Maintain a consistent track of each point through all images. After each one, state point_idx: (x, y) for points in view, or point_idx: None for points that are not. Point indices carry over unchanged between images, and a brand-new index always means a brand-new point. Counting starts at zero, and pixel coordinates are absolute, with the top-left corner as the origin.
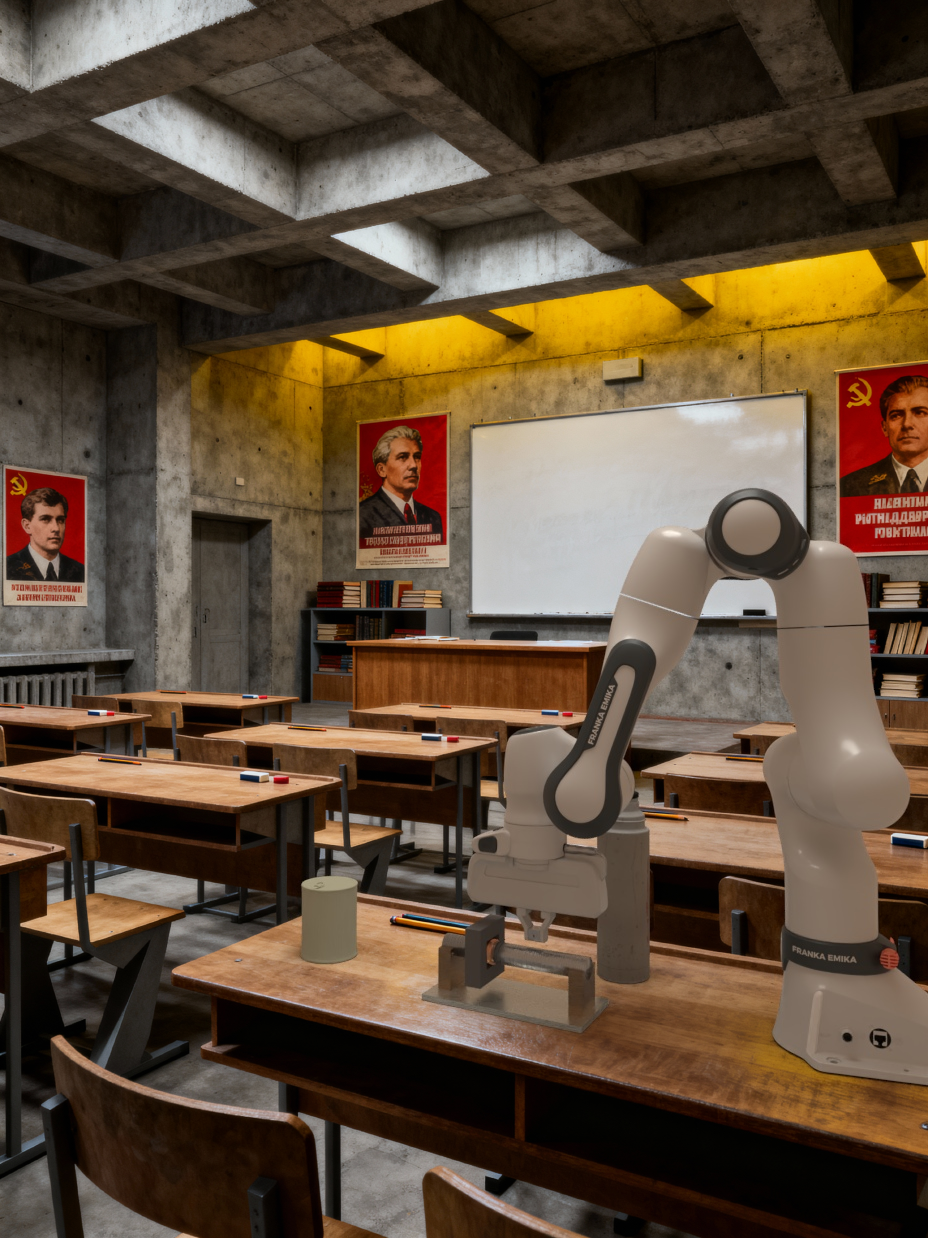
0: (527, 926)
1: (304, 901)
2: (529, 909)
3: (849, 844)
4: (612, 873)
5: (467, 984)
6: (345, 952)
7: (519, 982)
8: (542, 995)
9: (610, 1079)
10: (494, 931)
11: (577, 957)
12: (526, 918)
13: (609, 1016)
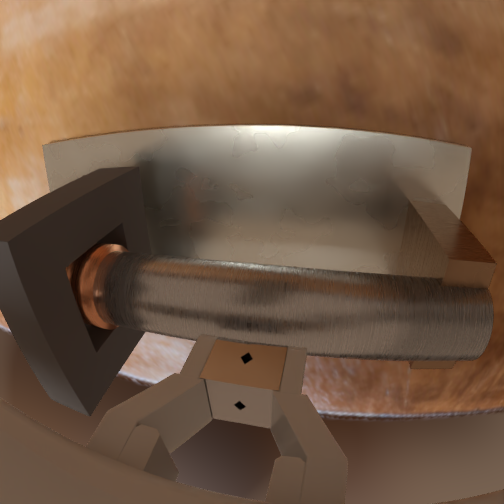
0: (203, 424)
1: None
2: (159, 467)
3: None
4: None
5: None
6: None
7: (187, 133)
8: (290, 197)
9: (458, 412)
10: (65, 314)
11: (446, 356)
12: (170, 432)
13: (473, 217)
